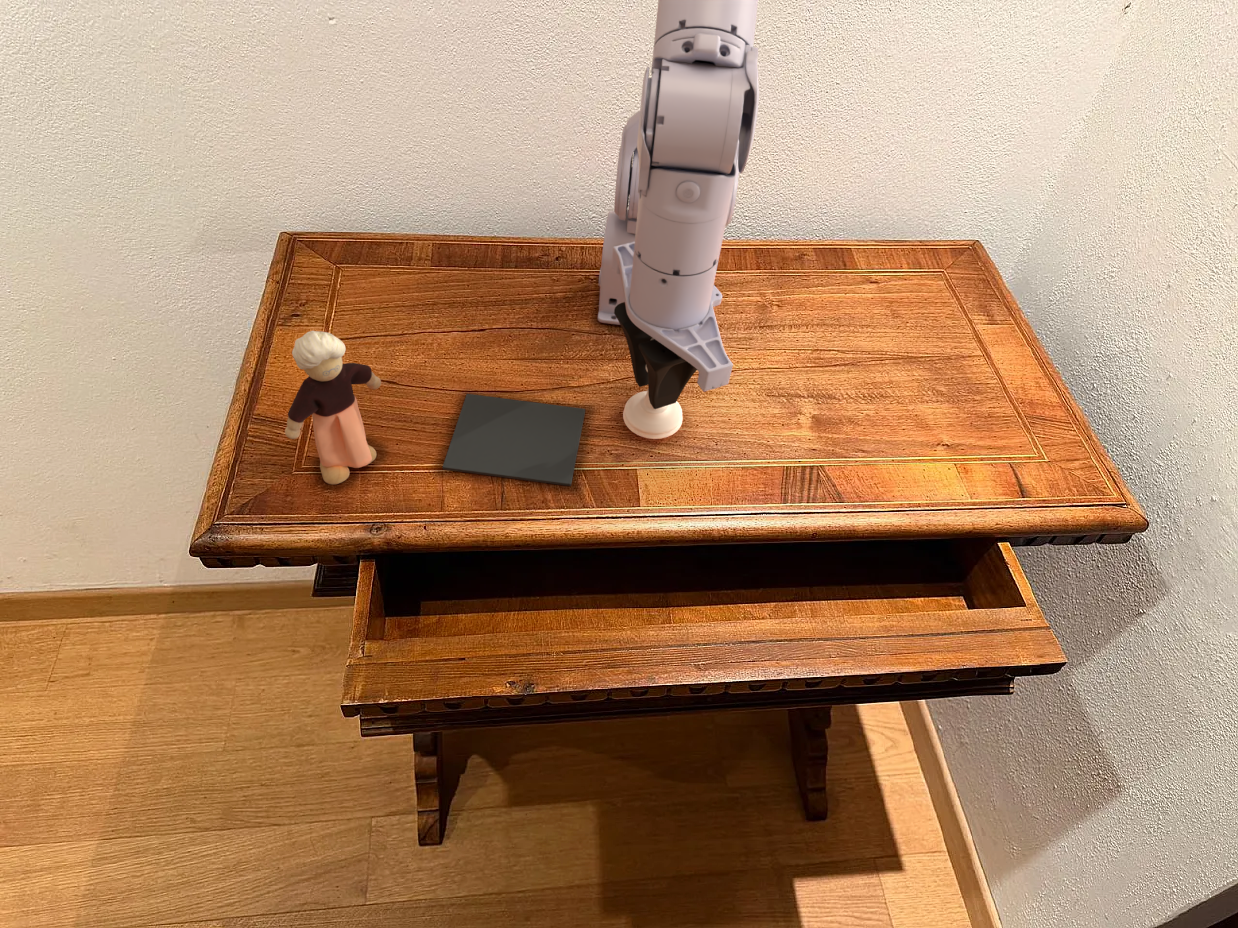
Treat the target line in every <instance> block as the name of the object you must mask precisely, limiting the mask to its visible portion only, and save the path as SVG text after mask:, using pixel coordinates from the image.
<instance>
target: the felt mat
mask: <svg viewBox="0 0 1238 928" xmlns="http://www.w3.org/2000/svg"><path fill="white" fill-rule="evenodd" d="M585 414H586V408H582V407H576V406H575V407H574V406H566V405H560V404H551V403H543V402H535V401H528V400H522V399H521V400H520V399H513V398H505V397H497V396H488V395H482V394H474V393H466V395H465V398H464V400H463V404H462V407H461V410H460V412H459V416H458V419H457V422H456V425H455V428H454V431H453V433H452V437H451V439H450V443H449V446H448V449H447V452H446V455H445V457H444V461H443V465H442V470H444V471H451V472H452V471H453V472H460V473H465V474H467V473H469V474H473V475H474V474H475V475H481V476H489V477H490V476H491V477H497V478H504V479H512V480H513V479H514V480H521V481H529V482H536V483H543V484H551V485H557V486H565V487H566V486H567V487H571V486H572V482H573V477H574V472H575V468H576V467H575V466H576V461H577V457H578V452H579V446H580V441H581V435H582V430H583V425H584V420H585V416H586V415H585Z"/></svg>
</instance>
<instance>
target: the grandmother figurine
mask: <svg viewBox="0 0 1238 928" xmlns="http://www.w3.org/2000/svg"><path fill="white" fill-rule="evenodd" d="M346 350H347V349H346V345H345V343H344V342H343V341H342V340H341V339H340V338H338V337H337V336H335V335H334V334H332V333H331V332H326V331H322V330H321V331H320V330H319V331H318V330H310V331H307V332H306V333H304V334H303V335H302V336H301V337H299V338H297V339H295V341H294V345H293V349H292V351H291V355H292V359H294V362H295V363H296V365H297V368H298V369H300V370H303V371H304V372H305V374H306V375H307V377H306V378H305V379H304V380H303V381H302V383H301V385H300V387H299V388H298V390H297V393H296V395H295V396H294V399H293V401H292V403H291V405H290V407H289V409H288V412H287V421H286V427H285V429H284V435H285V436H286V437H287V439H290V440H296V439H298V438H299V437H300V435H301V428H303V425H304V422H305V420H306V419H308V418H309V417H310V416H311V417H312V427H313V434H314V443H315V446H316V447H315V448H316V450H317V453H318V457H319V462H320V463H319V469H320V472H321V476H322V479H323V481H324V483H326V484H329V485H338V484H341V483H343V482H345V481H346V480H347V479H349V477H350V473H351V472H350V469H349V468H354V469H359V468H362V467H366V466H368V465H369V464H371V463H372V462H374V461H375V459H376V458H377V451H376V449H375V448H374V447H373V446H371V445H369V444H368V441H367V436H366V429H365V426H364V422H363V418H362V415H361V412H360V408H359V403H358V399H357V397H356V395H355V394H354V389H353V385H366V386H367V387H368V388H369V389H370V390H378V389H379V388H380V387H381V385H382V380H381V378H380V377H378V376H377V375H376V374H375V373H374V372H373V371H372V368H371V366H370V365H368V364H362V363H358V362H357V363H356V362H347V363H346V362H345V363H343V361H344V360H343V357H344V355H345V353H346Z"/></svg>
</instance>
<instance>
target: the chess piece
mask: <svg viewBox="0 0 1238 928" xmlns="http://www.w3.org/2000/svg"><path fill="white" fill-rule="evenodd" d="M653 339H654V338H652V339H651V340H653ZM646 371H647V372H648V370H647V366H646ZM622 418H623V422H624V424H625V426H626V427H627V428H628V430H629V431H631V432H632V433H633V434H636V435H637V436H638V437H641V438H645V439H650V440H660V439H665V438H668V437H671V436H672V435H674V434H676V433H677V432H678V431H679V430H680V429H681V427H682V424H683V419H684V418H683V409H682V406H681V404H680V403H679V402H678V400H677V401H676V403H674V404H671V405H667V406H664V407H661V408H658V409H654V408H653V407H652V405H651V404H650V400H649V395H648V389H647V390H643V391H640V392H637V393H635V394H634V395H632V396H631V397H630V398H629V399H628V400H627V401H626V403H625V405H624V409H623V411H622Z"/></svg>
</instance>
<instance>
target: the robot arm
mask: <svg viewBox="0 0 1238 928" xmlns="http://www.w3.org/2000/svg"><path fill="white" fill-rule="evenodd" d="M758 5H759V0H658V2H657V9H656V11H657V12H656V22H655V32H654V40H653V51H652V61H651V69H650V66H646V69H645V71H644V74H643V79H642V87H641V88H642V89H641V99H640V107H639V109H640V110H639V111H637V112H636V113H634V114H633V115H631V116H630V117H629V118H628V119H627V120H626V124H625V125H624V126H623V128H622V132H621V141H620V143H621V144H620V147H619V149H618V150H619V151H618V158H617V166H616V167H617V168H616V177H615V178H616V179H615V191H614V207H613V210H610V211H608V213H607V216H606V217H607V218H606V222H605V229H604V233H603V234H604V235H603V242H602V253H601V266H600V269H599V275H598V287H599V298H598V300H599V302H598V313H597V321H598V322H599V323H602V324H608V325H609V324H611V325H617V326H620V328H621V329H622V332H623V335H624V338H625V340H626V344H627V346H628V351H629V354H630V355H629V356H630V360H631V361H630V362H631V367H632V372H633V377H634V380H635V383H636V385H637V386H638V387H639V388H642V387H646V386H647V390H648V395H649V400H650V404H651V405H652V407H653V408H654V409H658V408H661V407H664V406H667V405H671V404H674V403H676V401H677V402H678V400H679V397H680V396H681V394H682V392H683V390H684V389H685V387H686V386H687V384H688V382H689V381H690V379H691V378H692V377H693V375H694V374H695V373H696V372H698V377H697V382H696V384H697V385H698V386H699V388H700V390H702V392H708V391H711V390H715V389H719V388H721V387H724V386H728V385H729V383H730V379H731V375H732V371H733V367H734V363H733V362H732V360H731V359H730V358H729V356H728V354H727V353H726V350H725V347H724V344H723V340H722V337H721V333H720V328H719V324H718V322H717V318H716V314H715V310H714V307H717V306H721V304H722V300H723V294H722V292H721V291H720V290H719V289H718V288H717V286H716V285H715V280H716V276H717V270H718V266H719V260H720V256H721V251H722V245H723V240H724V235H725V230H726V227H727V226H728V225H729V224H730V223H731V222H732V219H733V216H734V211H735V207H736V200H737V196H738V195H737V194H738V186H739V177H740V174H744V173H743V172H745V168H746V166H747V163H748V160H749V157H750V155H751V151H752V148H753V144H754V139H755V134H756V128H757V122H758V114H759V103H760V84H759V82H760V81H759V65H758V64H759V63H758V62H759V47H757V46H754V45H755V44H754V43H755V36H756V35H755V34H756V26H757V16H758ZM650 70H651V72H650ZM650 73H651V77H650ZM652 338H654V339H653V340H651V339H652ZM646 366H647V370H648V372H647V371H646Z"/></svg>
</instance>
